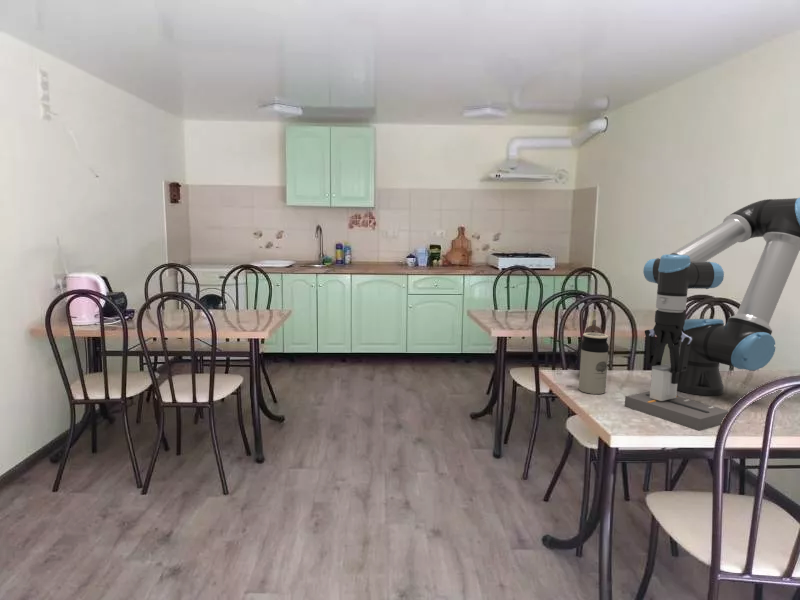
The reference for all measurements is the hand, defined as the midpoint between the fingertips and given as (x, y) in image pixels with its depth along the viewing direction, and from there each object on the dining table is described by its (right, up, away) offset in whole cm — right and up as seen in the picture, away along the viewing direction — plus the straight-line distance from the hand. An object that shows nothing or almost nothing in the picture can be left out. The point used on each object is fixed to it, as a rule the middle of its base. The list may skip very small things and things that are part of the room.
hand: (663, 392), depth 156 cm
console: (+2, -6, -3) cm, 6 cm away
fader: (0, -2, 0) cm, 2 cm away
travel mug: (-14, -3, +18) cm, 23 cm away
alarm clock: (-9, -1, +35) cm, 36 cm away
